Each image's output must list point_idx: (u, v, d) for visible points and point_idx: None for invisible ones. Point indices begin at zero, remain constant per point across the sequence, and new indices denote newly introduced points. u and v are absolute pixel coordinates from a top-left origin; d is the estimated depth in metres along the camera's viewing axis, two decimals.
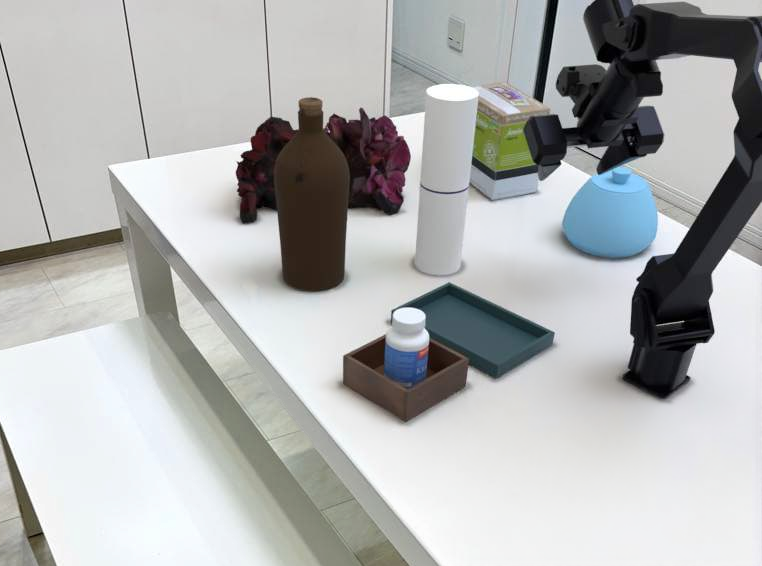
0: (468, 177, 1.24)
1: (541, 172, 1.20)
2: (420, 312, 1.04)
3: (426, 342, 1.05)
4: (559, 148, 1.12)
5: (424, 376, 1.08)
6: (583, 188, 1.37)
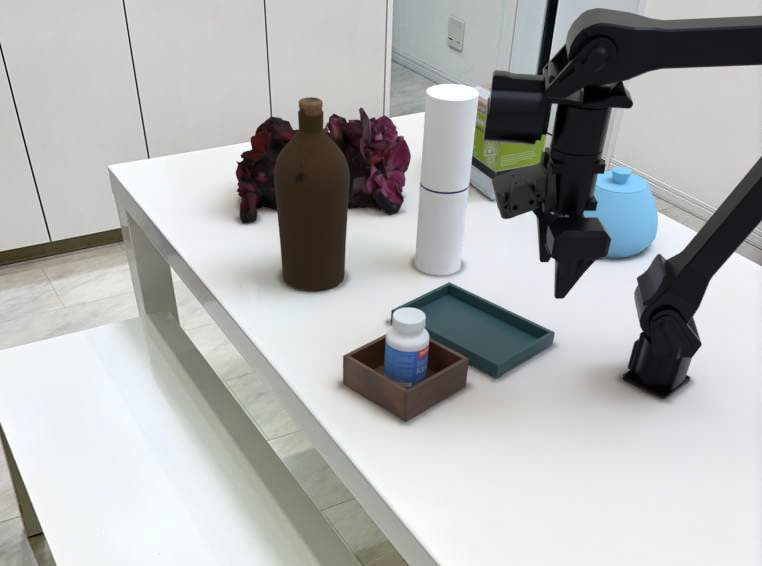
0: (468, 177, 1.24)
1: (568, 284, 0.99)
2: (420, 312, 1.04)
3: (426, 342, 1.05)
4: (602, 225, 0.93)
5: (424, 376, 1.08)
6: None
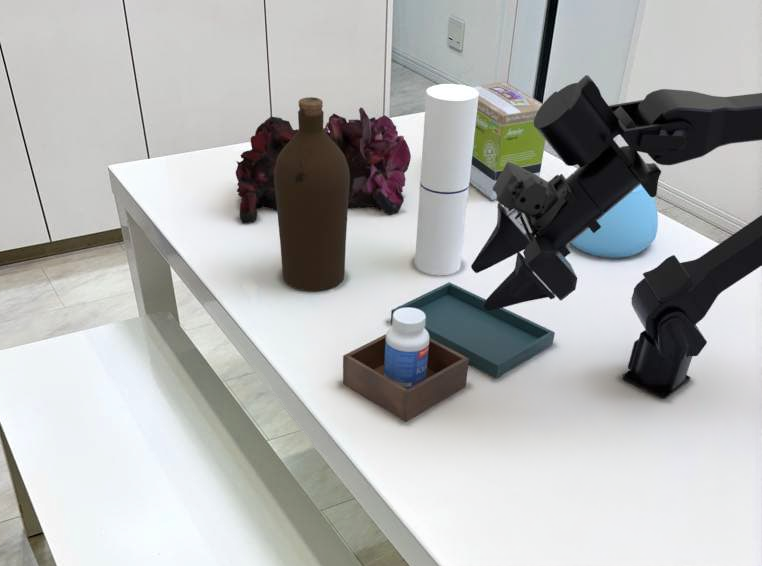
0: (468, 177, 1.24)
1: (504, 302, 0.97)
2: (420, 312, 1.04)
3: (426, 342, 1.05)
4: None
5: (424, 376, 1.08)
6: None
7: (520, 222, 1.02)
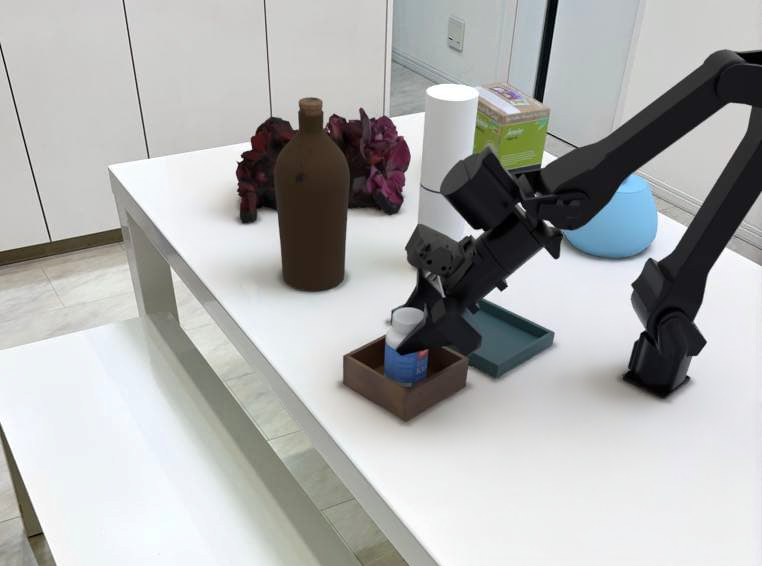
0: None
1: (415, 348, 1.03)
2: (420, 312, 1.04)
3: None
4: None
5: (424, 376, 1.08)
6: None
7: (438, 284, 1.05)
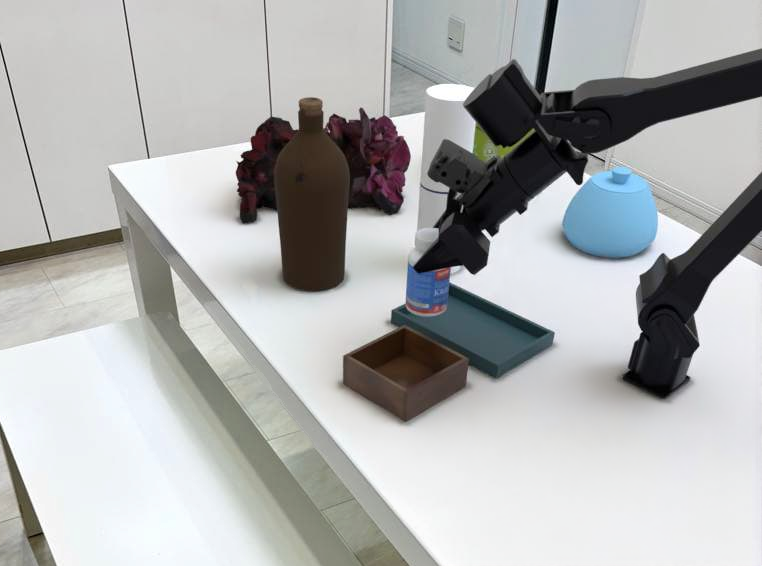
0: None
1: (430, 266, 1.04)
2: None
3: None
4: None
5: (444, 300, 1.09)
6: (583, 188, 1.37)
7: None
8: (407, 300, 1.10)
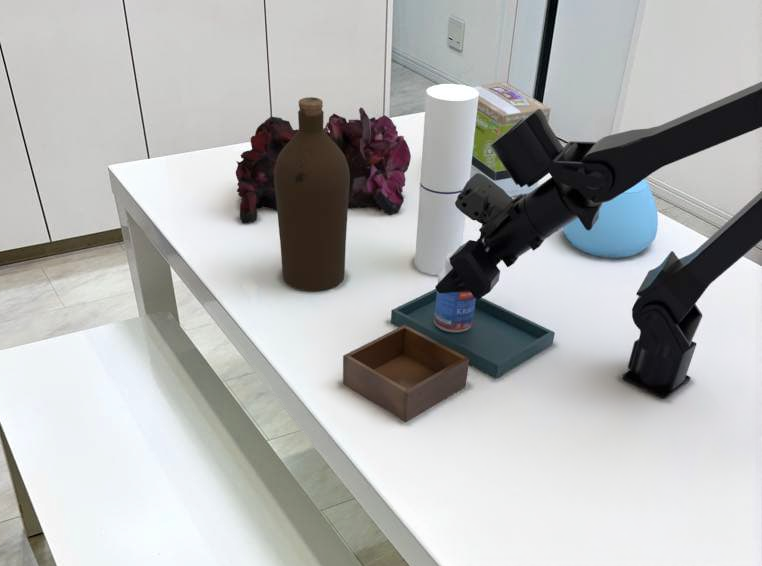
0: (468, 177, 1.24)
1: (449, 288, 1.13)
2: None
3: None
4: (496, 278, 1.07)
5: (466, 319, 1.18)
6: None
7: None
8: (435, 314, 1.20)
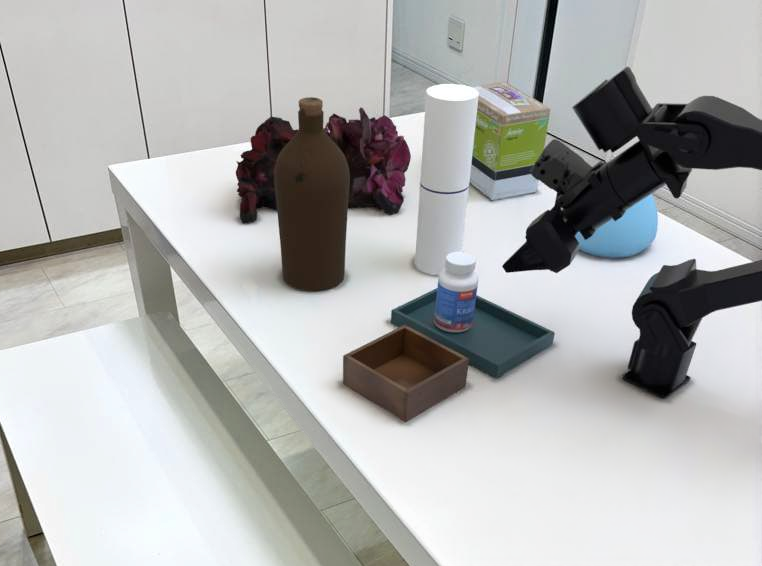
0: (468, 177, 1.24)
1: (518, 266, 1.06)
2: (472, 258, 1.14)
3: (469, 286, 1.15)
4: (575, 251, 1.00)
5: (466, 319, 1.18)
6: None
7: None
8: (435, 314, 1.20)
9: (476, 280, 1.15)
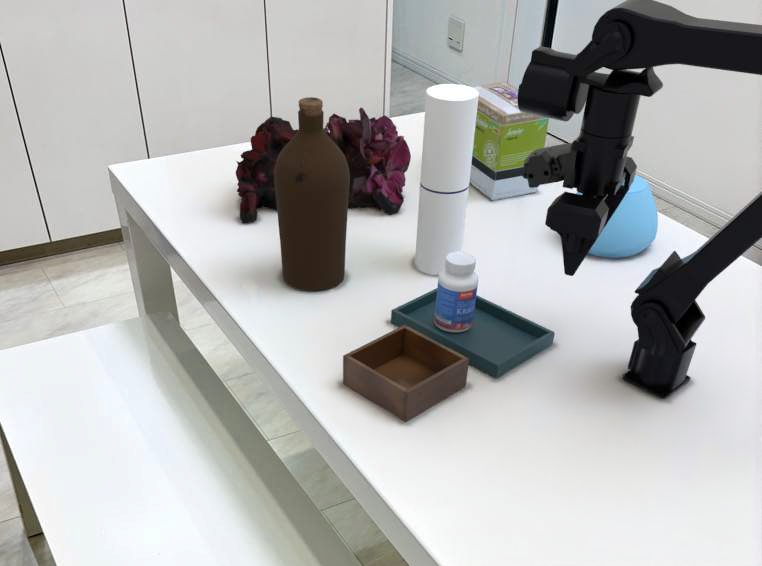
0: (468, 177, 1.24)
1: (575, 262, 1.03)
2: (472, 258, 1.14)
3: (469, 286, 1.15)
4: (603, 206, 0.97)
5: (466, 319, 1.18)
6: None
7: None
8: (435, 314, 1.20)
9: (476, 280, 1.15)
